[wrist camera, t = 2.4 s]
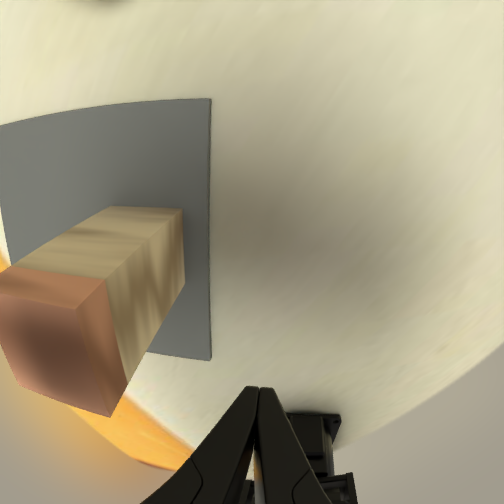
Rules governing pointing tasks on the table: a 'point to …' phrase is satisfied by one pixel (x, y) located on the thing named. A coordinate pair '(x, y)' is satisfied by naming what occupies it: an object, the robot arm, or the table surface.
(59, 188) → the rubber mat
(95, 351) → the pine block
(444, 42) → the table surface
